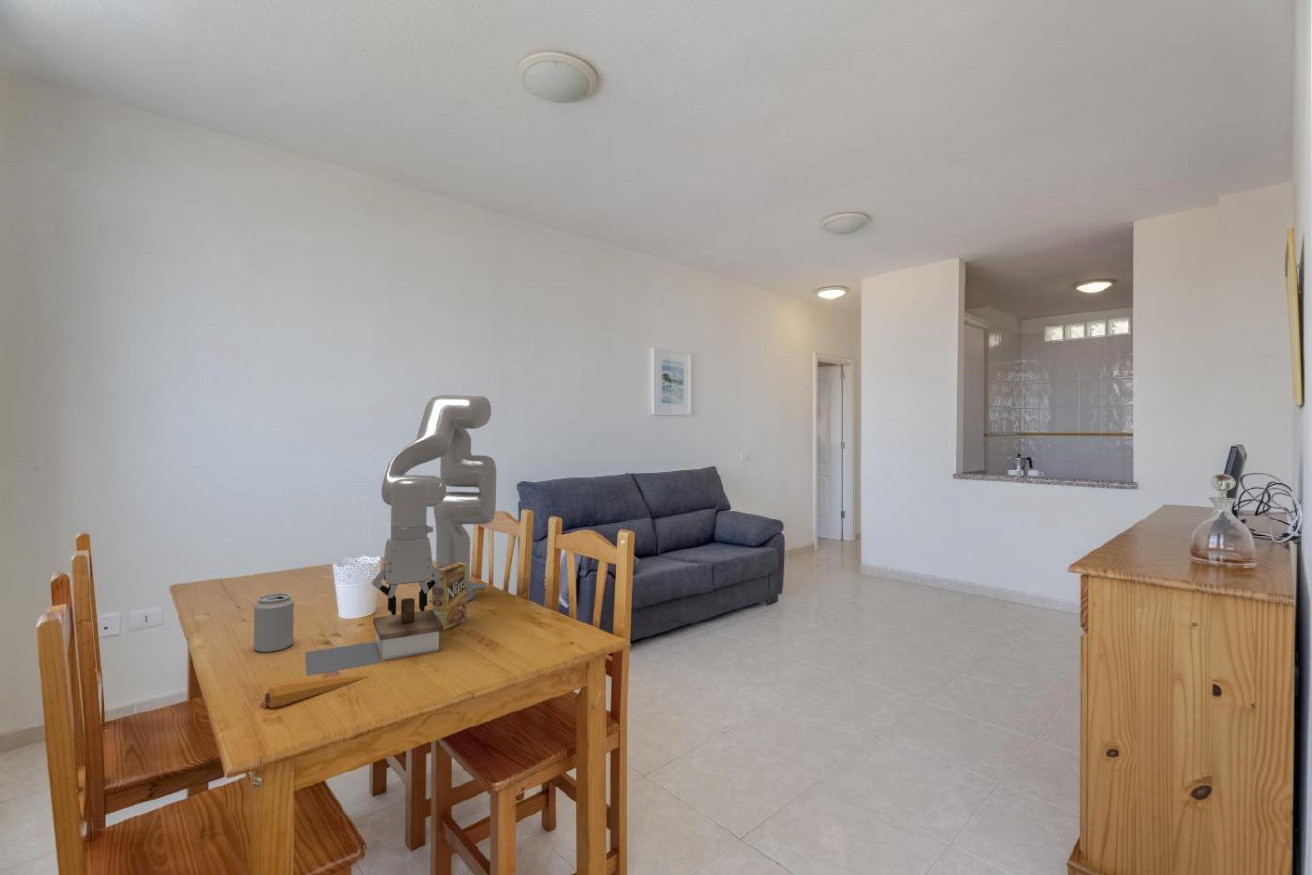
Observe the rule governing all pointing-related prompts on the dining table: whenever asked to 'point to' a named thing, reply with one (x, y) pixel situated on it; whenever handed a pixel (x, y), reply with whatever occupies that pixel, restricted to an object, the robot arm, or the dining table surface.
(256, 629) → the can
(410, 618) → the lid
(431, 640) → the grey storage bin
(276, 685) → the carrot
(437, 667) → the dining table surface
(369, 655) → the mat
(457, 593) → the candy box
